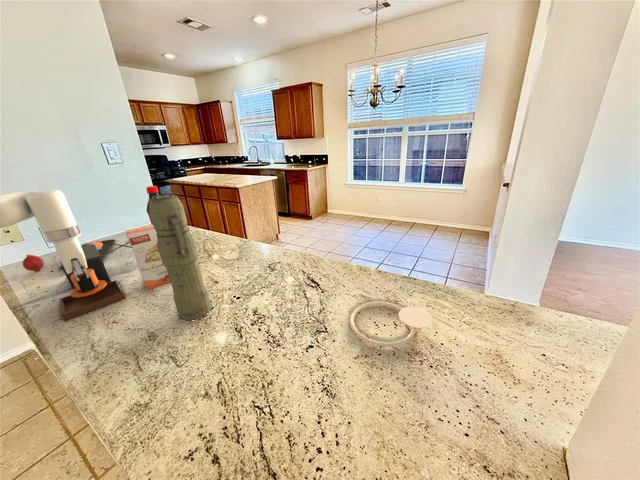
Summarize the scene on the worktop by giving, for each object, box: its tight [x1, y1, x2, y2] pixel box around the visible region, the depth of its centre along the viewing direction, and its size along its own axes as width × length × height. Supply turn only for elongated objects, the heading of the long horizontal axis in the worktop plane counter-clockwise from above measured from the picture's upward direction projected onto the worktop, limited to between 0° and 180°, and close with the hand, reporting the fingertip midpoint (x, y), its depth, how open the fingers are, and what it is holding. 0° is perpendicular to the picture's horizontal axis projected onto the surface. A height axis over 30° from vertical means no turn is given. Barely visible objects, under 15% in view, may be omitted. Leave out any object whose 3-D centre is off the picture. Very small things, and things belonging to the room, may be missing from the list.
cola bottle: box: [145, 185, 160, 225], centre depth 114 cm, size 8×8×30 cm
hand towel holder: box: [349, 301, 434, 348], centre depth 68 cm, size 17×4×21 cm
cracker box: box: [125, 224, 171, 291], centre depth 92 cm, size 14×6×21 cm, turn 129°
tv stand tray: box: [59, 279, 127, 323], centre depth 85 cm, size 15×12×2 cm
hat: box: [69, 269, 107, 297], centre depth 83 cm, size 9×9×6 cm
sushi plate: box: [59, 239, 132, 271], centre depth 122 cm, size 29×30×4 cm
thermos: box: [148, 193, 212, 322], centre depth 71 cm, size 9×12×35 cm
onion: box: [22, 253, 45, 273], centre depth 107 cm, size 6×6×8 cm
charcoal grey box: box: [60, 244, 112, 290], centre depth 95 cm, size 10×16×12 cm, turn 44°
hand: (87, 285), depth 83 cm, fingers closed on hat, 5 cm apart
